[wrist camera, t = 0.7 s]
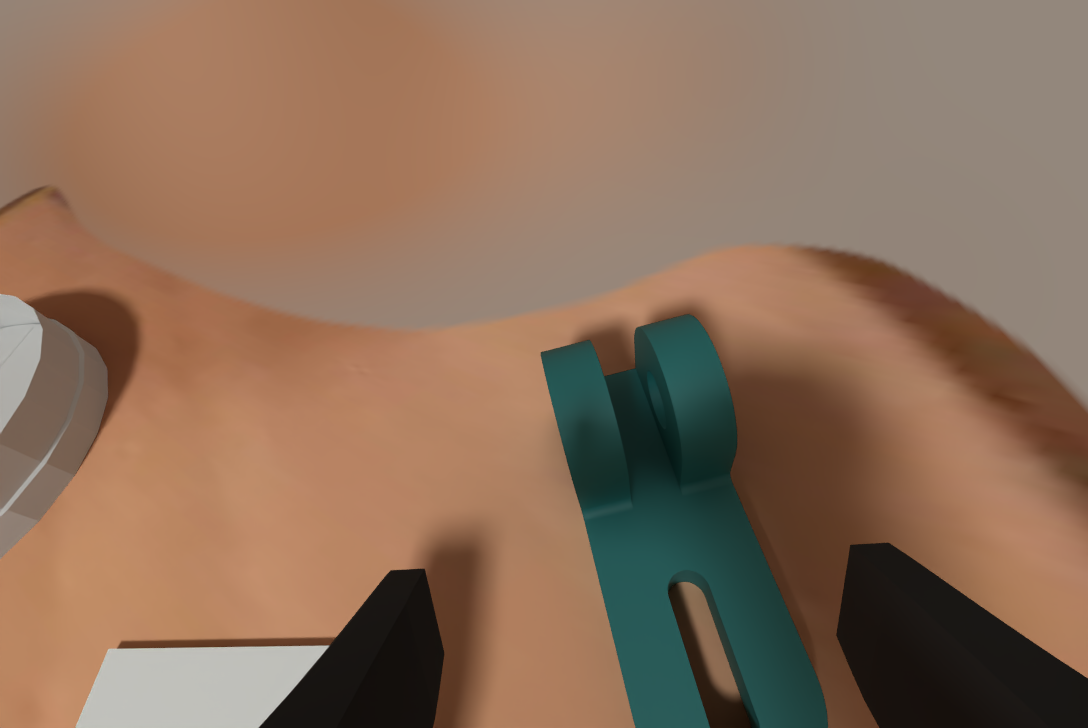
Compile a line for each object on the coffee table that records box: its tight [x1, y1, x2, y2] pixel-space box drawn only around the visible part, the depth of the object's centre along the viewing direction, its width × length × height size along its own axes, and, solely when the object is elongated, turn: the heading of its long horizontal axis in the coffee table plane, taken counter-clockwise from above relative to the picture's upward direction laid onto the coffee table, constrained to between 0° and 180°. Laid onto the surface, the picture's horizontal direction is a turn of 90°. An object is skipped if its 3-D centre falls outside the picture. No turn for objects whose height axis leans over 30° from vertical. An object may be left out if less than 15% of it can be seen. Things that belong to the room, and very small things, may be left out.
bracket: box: [541, 314, 828, 728], centre depth 21 cm, size 18×7×8 cm, turn 11°
